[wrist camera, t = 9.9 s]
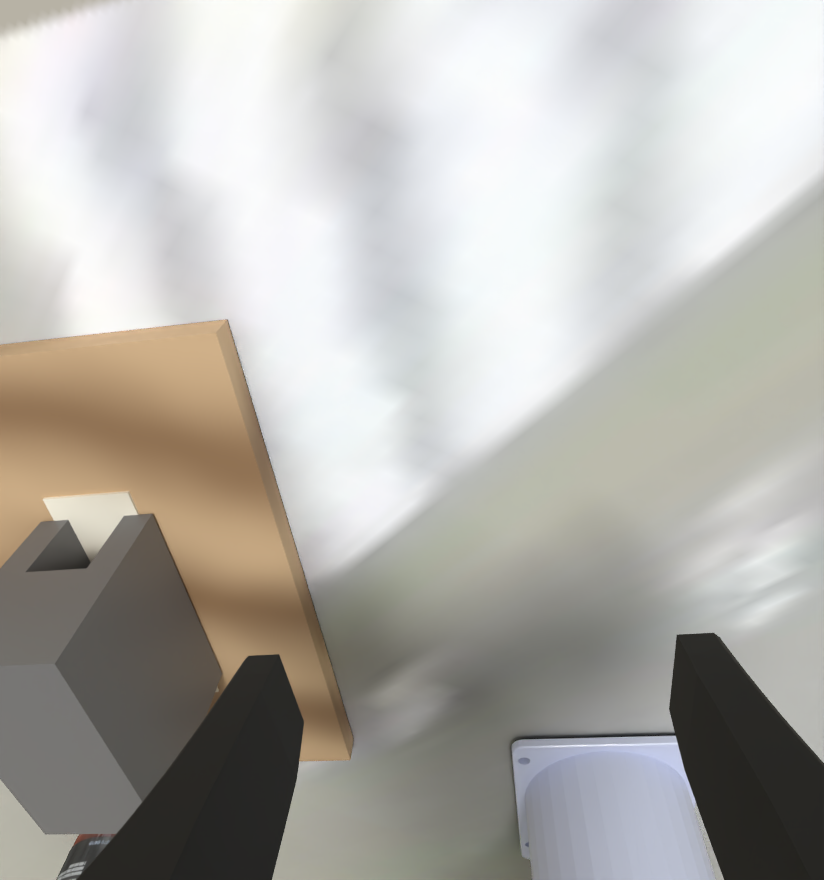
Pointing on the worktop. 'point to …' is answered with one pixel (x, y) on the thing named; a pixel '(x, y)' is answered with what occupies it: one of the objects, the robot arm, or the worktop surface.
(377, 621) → the worktop surface
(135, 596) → the block
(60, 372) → the pin board
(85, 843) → the supplement bottle
